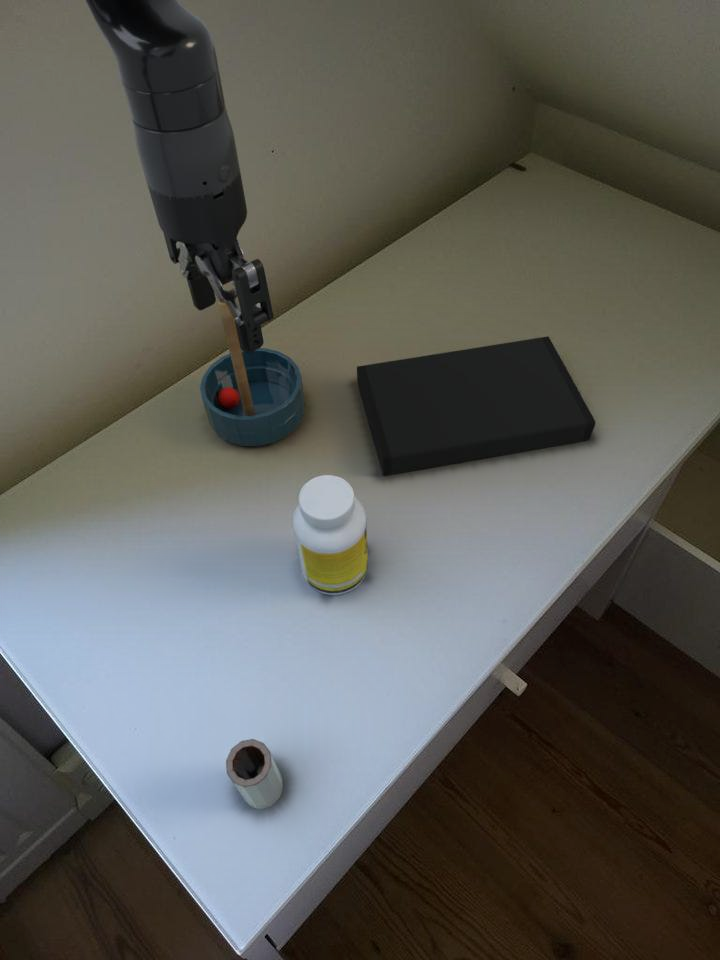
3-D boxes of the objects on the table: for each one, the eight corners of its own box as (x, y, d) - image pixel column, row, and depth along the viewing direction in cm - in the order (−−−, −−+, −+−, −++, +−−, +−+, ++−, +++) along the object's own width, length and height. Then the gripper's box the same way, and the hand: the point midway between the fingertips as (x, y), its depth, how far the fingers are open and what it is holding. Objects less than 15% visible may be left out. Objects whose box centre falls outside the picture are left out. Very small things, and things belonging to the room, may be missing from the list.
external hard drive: (357, 384, 82) (356, 365, 79) (543, 354, 84) (548, 335, 81) (383, 476, 73) (383, 458, 71) (589, 440, 75) (596, 422, 73)
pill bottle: (373, 591, 65) (371, 522, 56) (305, 602, 64) (292, 535, 55) (362, 534, 69) (358, 461, 60) (298, 544, 68) (284, 472, 59)
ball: (221, 388, 77) (211, 394, 78) (229, 408, 77) (219, 413, 79) (238, 382, 78) (227, 388, 80) (246, 402, 78) (236, 407, 80)
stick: (252, 420, 78) (225, 305, 65) (242, 416, 78) (215, 302, 65) (257, 412, 78) (232, 298, 66) (248, 409, 79) (221, 295, 66)
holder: (272, 815, 53) (259, 793, 48) (235, 800, 54) (218, 776, 49) (289, 774, 55) (278, 748, 50) (253, 760, 56) (238, 733, 50)
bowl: (281, 460, 75) (275, 429, 71) (192, 435, 77) (182, 404, 74) (319, 391, 81) (316, 360, 77) (236, 370, 84) (229, 339, 80)
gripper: (108, 151, 57) (159, 308, 70) (198, 223, 50) (236, 383, 63) (186, 121, 60) (222, 278, 73) (281, 186, 53) (302, 346, 66)
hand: (228, 326), depth 68 cm, fingers open, 8 cm apart
